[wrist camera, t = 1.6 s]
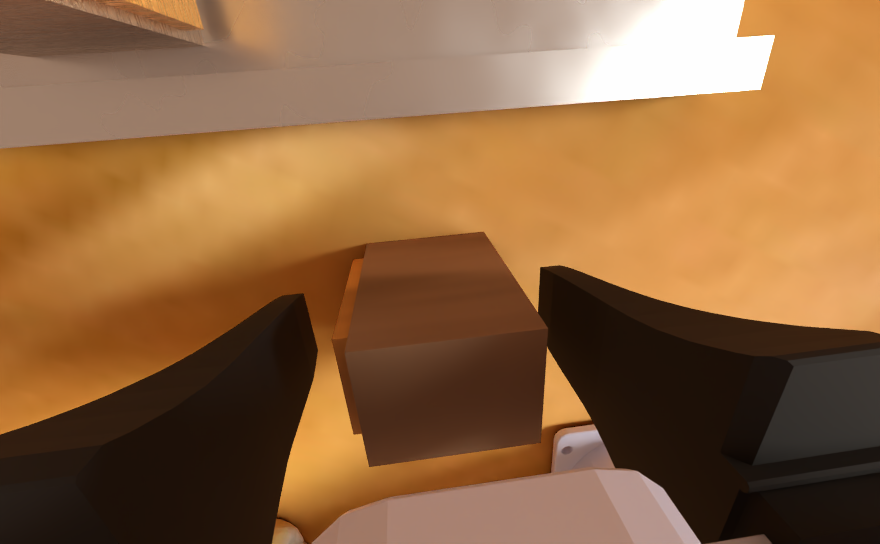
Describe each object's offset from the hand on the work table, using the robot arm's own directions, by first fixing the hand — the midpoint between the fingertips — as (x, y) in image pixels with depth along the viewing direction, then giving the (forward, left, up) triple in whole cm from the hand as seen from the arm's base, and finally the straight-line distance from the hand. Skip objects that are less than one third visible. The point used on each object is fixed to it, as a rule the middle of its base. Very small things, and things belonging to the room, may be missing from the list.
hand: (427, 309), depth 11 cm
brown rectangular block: (0, 0, -2) cm, 2 cm away
